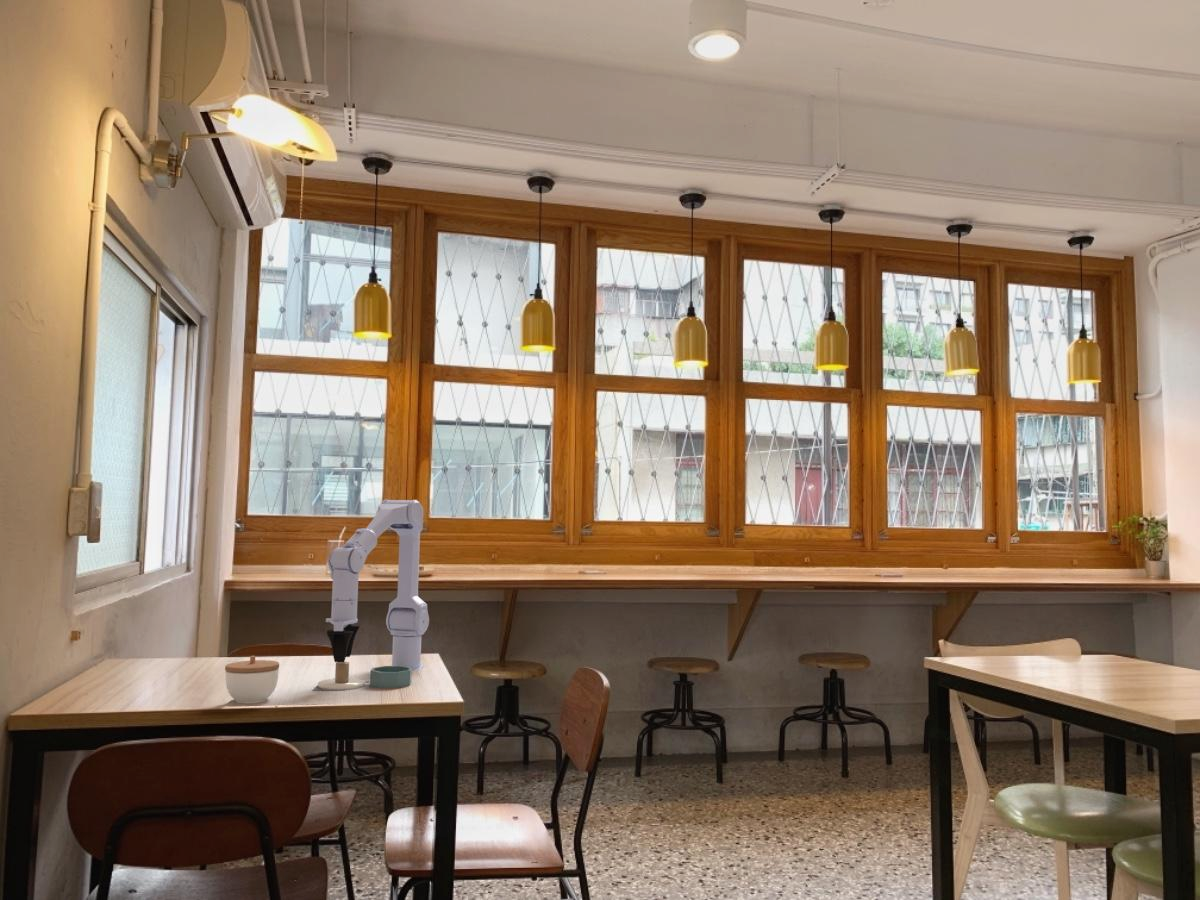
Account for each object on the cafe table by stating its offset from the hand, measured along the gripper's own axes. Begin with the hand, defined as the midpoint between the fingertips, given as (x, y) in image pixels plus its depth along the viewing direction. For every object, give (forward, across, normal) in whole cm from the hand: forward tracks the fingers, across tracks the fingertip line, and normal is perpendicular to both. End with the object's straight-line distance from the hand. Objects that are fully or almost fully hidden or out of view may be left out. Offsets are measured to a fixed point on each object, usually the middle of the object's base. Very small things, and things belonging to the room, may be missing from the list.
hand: (342, 659), depth 210 cm
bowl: (+6, -1, +11) cm, 13 cm away
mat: (+6, 0, 0) cm, 6 cm away
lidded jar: (+7, +15, -16) cm, 23 cm away
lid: (+6, 0, 0) cm, 6 cm away
